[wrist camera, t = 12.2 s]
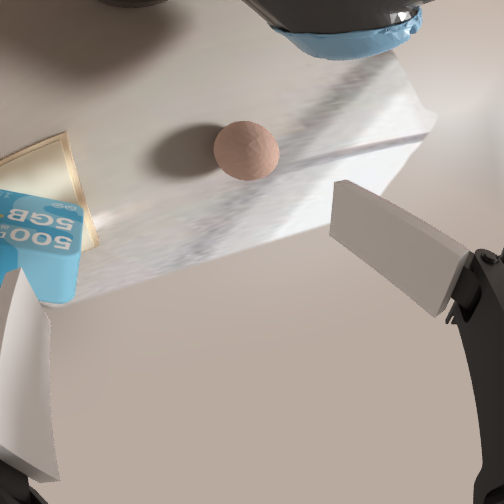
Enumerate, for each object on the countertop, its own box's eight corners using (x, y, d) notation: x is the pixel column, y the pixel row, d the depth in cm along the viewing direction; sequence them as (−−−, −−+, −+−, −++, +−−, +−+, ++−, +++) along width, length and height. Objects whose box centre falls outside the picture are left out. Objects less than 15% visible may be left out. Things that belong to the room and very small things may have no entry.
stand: (-19, 170, 22) (-28, 176, 20) (66, 130, 26) (62, 133, 24) (21, 268, 30) (17, 281, 28) (98, 237, 34) (99, 249, 32)
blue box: (85, 205, 29) (81, 259, 20) (77, 241, 30) (74, 307, 21) (-10, 186, 22) (-53, 234, 13) (-13, 225, 23) (-49, 285, 14)
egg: (221, 179, 38) (256, 204, 31) (193, 138, 34) (223, 153, 27) (261, 149, 39) (304, 166, 31) (237, 108, 34) (279, 114, 27)
